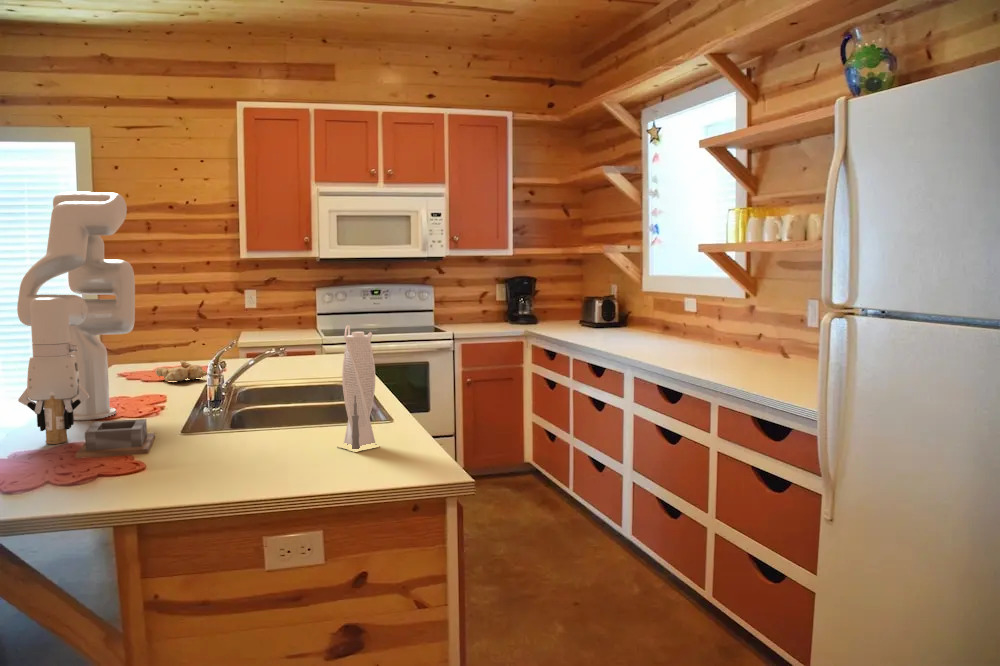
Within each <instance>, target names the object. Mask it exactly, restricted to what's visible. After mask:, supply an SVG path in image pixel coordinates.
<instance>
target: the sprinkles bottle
mask: <svg viewBox="0 0 1000 666" xmlns="http://www.w3.org/2000/svg"><path fill="white" fill-rule="evenodd" d="M49 395H55V394H54V393H53V392H51V393H50V394H49ZM50 397H51V398H50V399H49V400H46V401H44V418H45V430H44V431H45V443H46V444H47V445H59V444H63V443H67V442H68V441H69V438H68V430H66V429H65V416H64V413H65V412H66V407H65V403H64V400H58V399H55V398H53V397H54V396H50Z"/></svg>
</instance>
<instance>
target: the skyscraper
mask: <svg viewBox="0 0 1000 666" xmlns="http://www.w3.org/2000/svg"><path fill="white" fill-rule="evenodd" d="M344 329H345V330H344V337H343V338H344V341H345V347H344V353H343V360H342V361H343V362H342V373H341V374H342V375H341V377H342V378H341V379H342V391H343V398H344V399H343V400H344V406H345V411H346V415H347V418H348V420H347V424H346V429H345V430H346V431H345V434H344V439H343V444H344V443H347V445H348V444H351V445H352V449H359V448H360V446H362V445H366V444H371V443H376V439H375V435H374V431H373V426H372V423H371V419H370V416H371V412H372V409H373V404H374V398H375V389H376V366H375V365H376V364H375V359H374V358H375V357H374V352H373V347H372V342H371V340H372V337H373V333H372V331H369V332H368V334H365V332H364V331H351V325H350V323H349V324H347V325H346V326H345V328H344Z"/></svg>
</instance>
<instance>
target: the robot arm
mask: <svg viewBox="0 0 1000 666" xmlns="http://www.w3.org/2000/svg"><path fill="white" fill-rule="evenodd" d="M52 205H53V206H52V207H53V208H52V211H51V215H50V216H51V217H50V222H49V229H48V230H49V233H48V239H47V247H46V252H45V253H46V254H45V255H44V256H43V257H42V258H40V259H39V260H38V261H37V262H35V263H34V264H33V265H32V266H31V267H30V268H29V269H28V271H26V273H25V274H24V276H23V278H22V279H21V281H20V282H21V283H20V285H19V292H18V297H17V298H18V299H17V308H16V309H17V318H18V319H19V321H20V322H21V323H22V324H23V325H24V326H28V327H31V328H30V329H31V345H32V348H31V349H32V356H31V357H30V358H29V361H28V368H27V380H26V382H27V384H26V388H25V390H24V391H23V392H22V394H20V396H19V398H18V400H17V401H18V402H19V403H20V404H23V405H24V406H26V407H27V408H29V409H30V410H31V411H33V412H34V413H35V414H36V425H37V427H38V428H39V431H40V432H44V431H46V430H45V418H44V401H46V400H49V399H50V398H51V397H50V396H54V397H53V398H55V399H58V400H64V403H65V408H66V412H65V413H64V416H65V429H66V430H67V431H68V430H70V429H71V428H72V426H73V425H74V424H75V421H90V420H99V419H106V418H109V417H108V416H110V417H112V416H111V415H113V414H115V413H116V414H117V409H116V408H114V407H110V405H111V404H110V385H109V364H108V363H109V360H108V350H107V348H106V346H105V344H104V343H103V342H102V341H101V340H100V339H99V337H97V336H101V335H125V334H129V333H130V332H132V331H133V329H134V326H135V322H136V317H135V316H136V280H135V279H136V278H135V273H134V268H133V266H132V265H131V263H130V262H128V261H126V260H124V259H105V243H104V239H103V238H102V237H101V236H112V235H114V234H115V233H117V231H118V230H119V229H120V228H121V226H122V225H123V224H124V222H125V220H126V218H127V211H128V209H127V203H126V200H125V198H124V197H123V195H121V194H119V193H116V192H97V191H96V192H94V191H93V192H91V191H66V192H60V193H58V194H56V195H55V196H54V197H53V200H52ZM66 273H67V274H68V275H67V278H68V279H67V280H68V282H67V283H68V286H69V288H70V290H71V292H73V293H75V294H38V292H39V290H40V289H41V287H42V286H44V284H46V283H47V282H49V281H50V280H52V279H54V278H56V277H59V276H61V275H64V274H66ZM76 294H78V295H76ZM80 295H88V296H90V295H91V296H95V295H97V296H99V295H103V296H105V295H107V296H108V295H109V296H110V295H111V296H115V298H110V299H109V298H103V299H102V298H83V297H81V296H80ZM51 392H53V393H54V394H55V395H49V394H50V393H51ZM116 414H115V415H116ZM113 416H114V415H113ZM105 417H106V418H105Z"/></svg>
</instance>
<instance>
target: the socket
mask: <svg viewBox="0 0 1000 666" xmlns="http://www.w3.org/2000/svg"><path fill="white" fill-rule="evenodd" d="M147 431H148V427H147V418H142V419H140V418H139V419H126V420H125V419H124V420H122V419H121V420H108V421H107V420H106V421H93V422H92V424H91V425H90V426H89V427H88V428H87V429H86V431H85V432H84V440H85V441H84V443H83V444H82V446H81V447H80V448H79V449H78V451H76V453H75V459H76V458H79V459H83V458H82V457H93V458H103V457H104V458H106V457H114V456H115V457H116V456H117V457H119V455H121V456H131V455H132V456H133V455H147V454H148V453H149V451H150V450H151V447H152V445H153V443H154V441H155V438H156V432H147Z"/></svg>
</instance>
